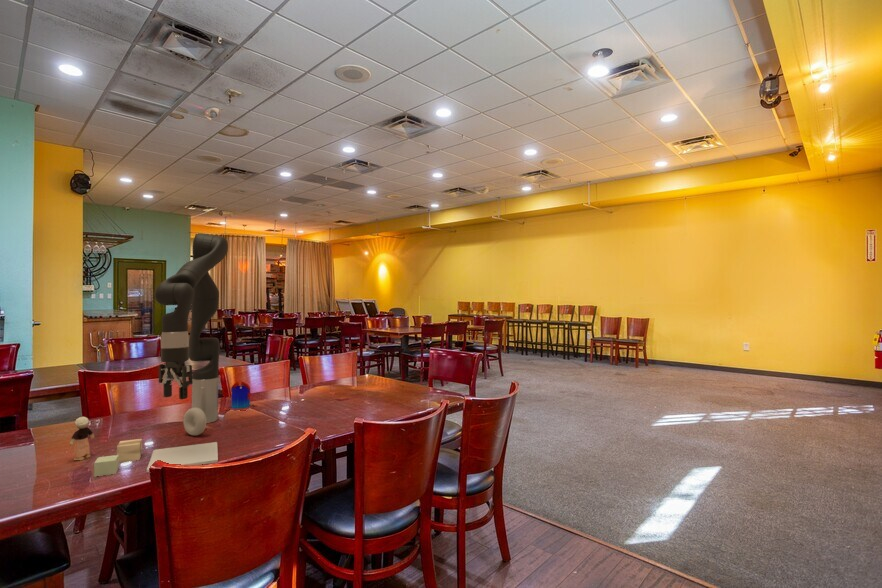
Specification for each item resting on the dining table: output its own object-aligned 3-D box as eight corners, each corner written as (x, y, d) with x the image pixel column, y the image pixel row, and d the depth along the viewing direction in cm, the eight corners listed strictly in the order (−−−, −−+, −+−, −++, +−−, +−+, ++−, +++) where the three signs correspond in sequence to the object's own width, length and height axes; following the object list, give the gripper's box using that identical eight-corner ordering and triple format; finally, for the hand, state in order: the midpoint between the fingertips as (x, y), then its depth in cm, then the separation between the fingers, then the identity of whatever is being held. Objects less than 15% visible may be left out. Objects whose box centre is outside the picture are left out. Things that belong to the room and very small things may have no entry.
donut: (208, 436, 157) (209, 408, 157) (199, 438, 154) (200, 410, 154) (189, 432, 161) (190, 404, 161) (180, 434, 158) (181, 406, 158)
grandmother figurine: (83, 454, 138) (84, 413, 138) (96, 454, 138) (97, 413, 138) (64, 463, 130) (65, 420, 130) (78, 463, 130) (79, 420, 130)
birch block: (119, 457, 136) (120, 441, 136) (141, 454, 138) (142, 438, 139) (116, 463, 131) (116, 446, 131) (139, 460, 134) (139, 444, 134)
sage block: (97, 471, 125) (98, 457, 125) (118, 468, 127) (118, 454, 127) (93, 477, 121) (94, 463, 121) (115, 474, 123) (115, 460, 123)
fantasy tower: (219, 410, 192) (220, 383, 192) (236, 404, 203) (237, 378, 203) (244, 412, 190) (245, 384, 190) (260, 405, 201) (260, 379, 202)
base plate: (153, 452, 140) (153, 449, 140) (217, 444, 149) (217, 441, 149) (146, 472, 124) (146, 469, 124) (217, 462, 133) (217, 459, 133)
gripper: (200, 345, 138) (200, 397, 138) (174, 344, 145) (174, 394, 145) (176, 347, 132) (176, 402, 131) (150, 346, 139) (150, 398, 138)
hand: (175, 397), depth 138 cm, fingers open, 8 cm apart
